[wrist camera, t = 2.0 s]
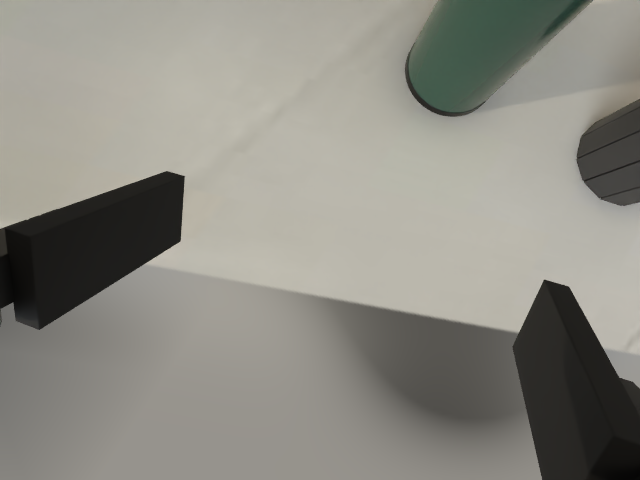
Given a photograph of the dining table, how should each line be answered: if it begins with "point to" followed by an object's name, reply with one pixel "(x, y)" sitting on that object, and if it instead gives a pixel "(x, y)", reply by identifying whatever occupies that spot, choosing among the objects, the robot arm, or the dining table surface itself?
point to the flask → (479, 48)
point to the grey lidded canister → (613, 156)
